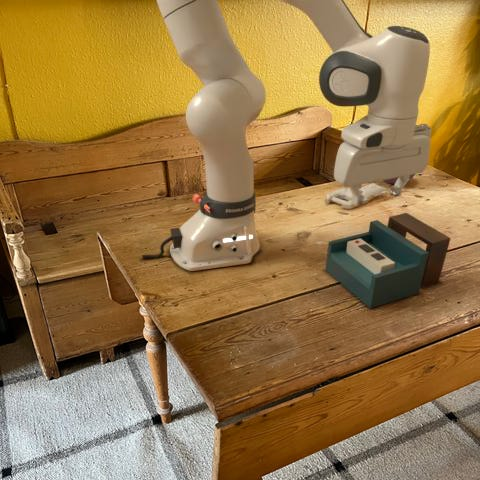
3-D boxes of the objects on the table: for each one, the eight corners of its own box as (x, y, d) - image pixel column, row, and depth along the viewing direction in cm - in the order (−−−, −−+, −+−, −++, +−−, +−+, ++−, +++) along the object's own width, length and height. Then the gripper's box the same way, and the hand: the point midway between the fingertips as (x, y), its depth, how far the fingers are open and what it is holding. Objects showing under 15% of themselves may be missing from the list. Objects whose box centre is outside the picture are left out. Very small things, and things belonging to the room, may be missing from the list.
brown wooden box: (421, 287, 110) (432, 243, 103) (381, 258, 120) (389, 216, 113) (438, 282, 112) (450, 238, 105) (397, 254, 122) (406, 212, 115)
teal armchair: (370, 308, 104) (377, 267, 98) (325, 270, 116) (329, 231, 110) (418, 293, 108) (429, 252, 102) (370, 257, 121) (377, 219, 114)
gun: (365, 175, 153) (390, 186, 147) (364, 186, 155) (388, 197, 149) (321, 192, 145) (346, 204, 139) (321, 203, 147) (345, 216, 141)
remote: (379, 278, 103) (381, 265, 102) (345, 252, 112) (347, 240, 110) (392, 274, 105) (395, 261, 103) (358, 249, 113) (360, 237, 112)
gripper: (421, 118, 98) (406, 185, 106) (334, 130, 91) (325, 201, 99) (444, 127, 93) (426, 196, 102) (354, 141, 86) (343, 214, 94)
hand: (376, 199), depth 100 cm, fingers open, 8 cm apart
